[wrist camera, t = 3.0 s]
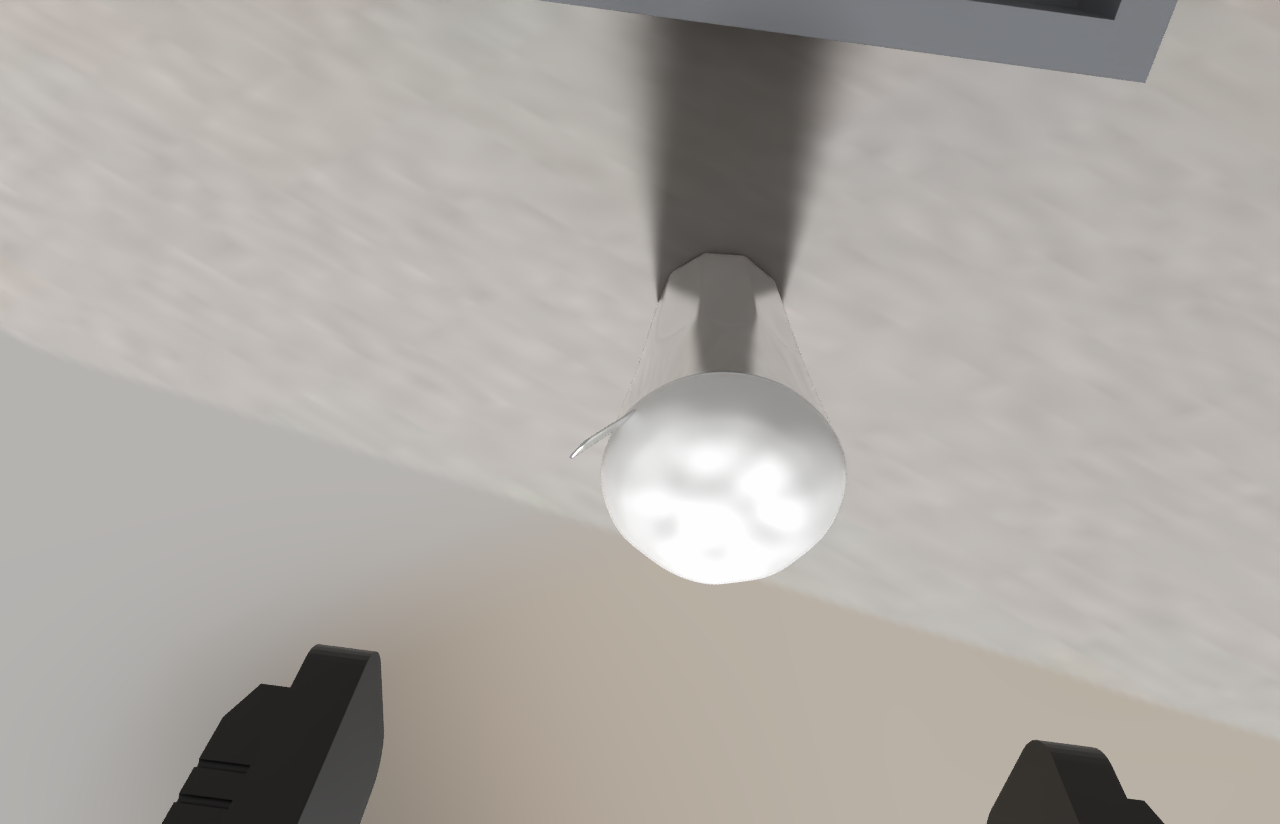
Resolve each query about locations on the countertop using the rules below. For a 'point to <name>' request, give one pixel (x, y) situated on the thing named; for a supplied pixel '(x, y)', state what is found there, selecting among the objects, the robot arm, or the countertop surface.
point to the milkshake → (721, 433)
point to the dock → (953, 27)
